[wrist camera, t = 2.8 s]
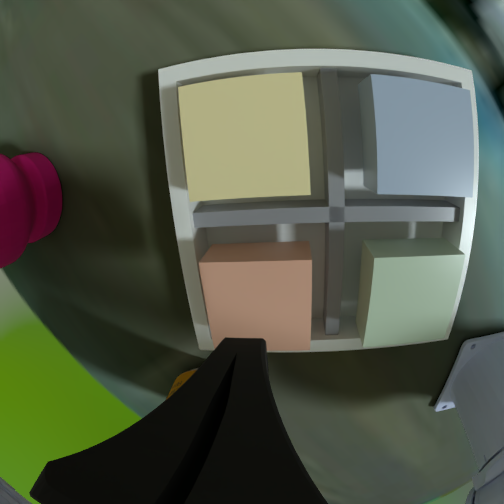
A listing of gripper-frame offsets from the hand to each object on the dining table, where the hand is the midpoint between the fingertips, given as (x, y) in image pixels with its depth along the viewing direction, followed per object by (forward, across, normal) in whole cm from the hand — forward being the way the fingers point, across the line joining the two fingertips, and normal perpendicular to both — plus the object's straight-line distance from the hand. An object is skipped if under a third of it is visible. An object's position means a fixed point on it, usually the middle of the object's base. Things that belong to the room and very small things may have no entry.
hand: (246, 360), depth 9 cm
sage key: (+5, -7, 0) cm, 9 cm away
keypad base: (+7, -4, -4) cm, 9 cm away
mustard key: (+5, 0, -7) cm, 9 cm away
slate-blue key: (+5, -7, -7) cm, 11 cm away
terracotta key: (+5, 0, 0) cm, 5 cm away
